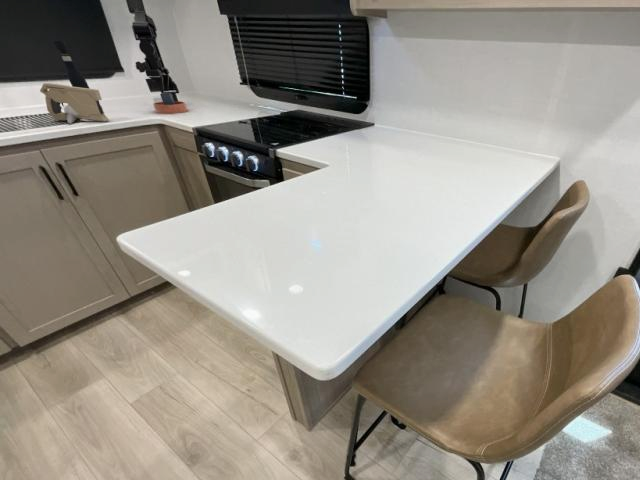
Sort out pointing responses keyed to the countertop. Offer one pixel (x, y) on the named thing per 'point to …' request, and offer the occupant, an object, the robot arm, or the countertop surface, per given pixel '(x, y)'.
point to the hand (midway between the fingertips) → (164, 91)
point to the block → (167, 99)
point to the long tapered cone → (70, 114)
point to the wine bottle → (71, 67)
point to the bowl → (170, 107)
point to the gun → (73, 101)
